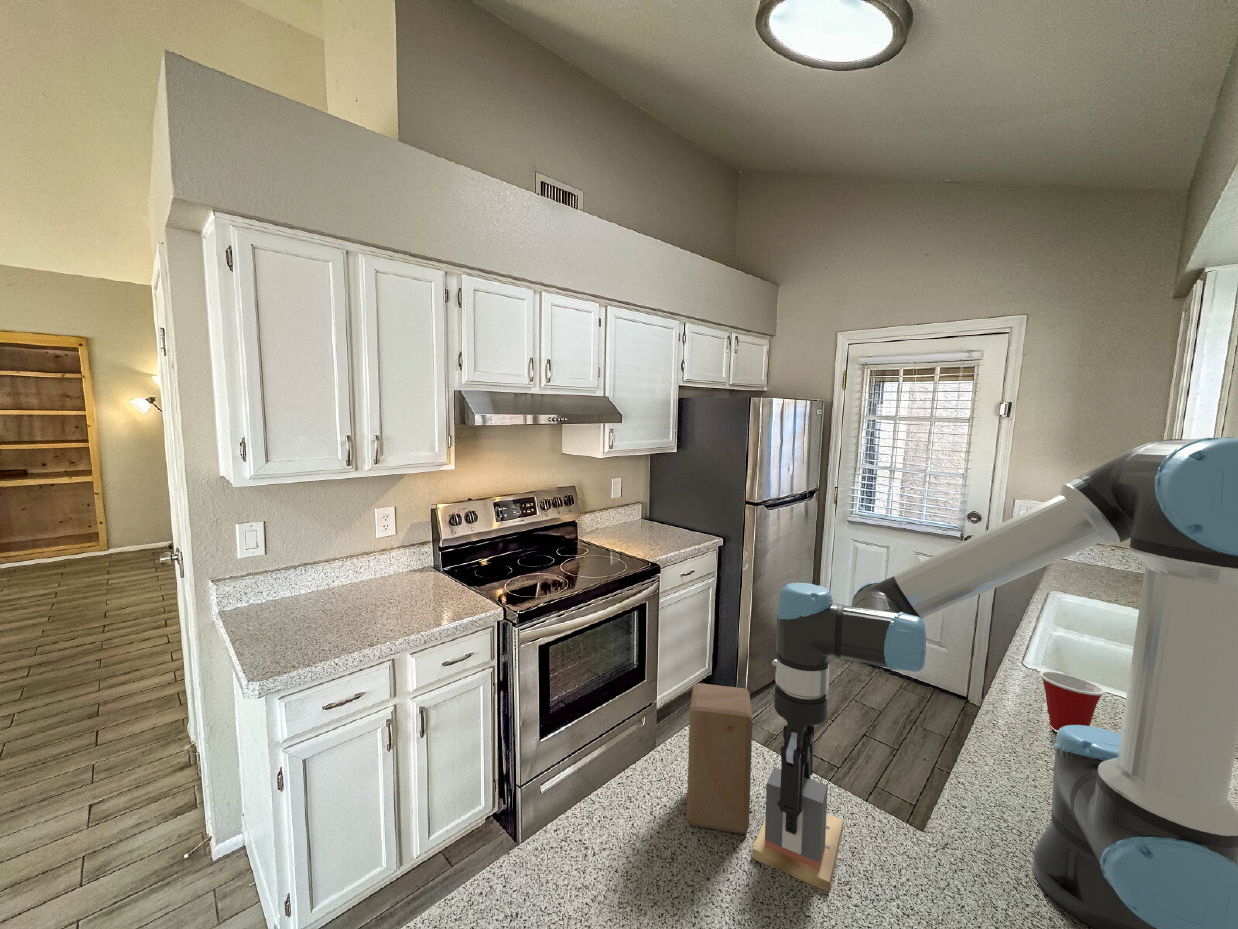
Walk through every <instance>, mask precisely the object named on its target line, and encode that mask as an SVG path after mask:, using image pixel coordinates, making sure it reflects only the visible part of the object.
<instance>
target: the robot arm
mask: <svg viewBox="0 0 1238 929" xmlns="http://www.w3.org/2000/svg"><path fill="white" fill-rule="evenodd" d="M1129 539H1130V541H1129V550H1130V552H1132V553H1133V555H1135V556H1136V557H1137V558H1138V559H1139V560H1140V562H1142V563H1143V566H1144V574H1143V581H1142V587H1141V595H1140V600H1139V606H1138V607H1139V608H1138V614H1137V615H1138V616H1137V622H1136V623H1137V624H1136V629H1135V636H1134V642H1133V650H1132V657H1131V662H1130V671H1129V678H1128V683H1127V690H1126V691H1127V692H1126V699H1125V706H1124V712H1123V719H1122V726H1121V732H1117V731H1113V730H1109V729H1106V728H1105V729H1104V728H1102V727H1095V726H1091V725H1089V726H1083V725H1067V726H1064V727H1061V728H1060V729H1059V730H1058V732H1057V733H1056V740H1055V743H1054V744H1053V748H1054V764H1053V779H1052V780H1053V782H1052V795H1051V796H1052V800H1051V817H1050V818H1051V819H1050V821H1049V824H1047V825H1048V826H1046V829H1045V830H1044V831H1043V833H1042V835H1041V837H1040V839H1039V840H1038V842H1037V843H1036V845H1035V847H1034V850H1033V857H1032V871H1033V875H1034V876H1035V879H1036V881H1037V882H1038V885H1039V886H1040V887H1041V888H1042V889H1043V891H1045V893H1046V894H1047V895H1048V896H1049V897H1050V898H1051V899H1052V900H1053V901H1054V902H1055V903H1056V904H1058V905H1059V906H1060V907H1061V908H1062V909H1064V910H1065V911H1067V913H1069V914H1071V915H1072V916H1073V917H1074V918H1076V919H1077V920H1079V921H1081V922H1082V923H1084V924H1086V925H1087V926H1089V927H1091V928H1093V929H1238V809H1237V808H1236V806H1234V805H1233V804H1232V803H1231V802H1230V801H1229V800H1228V798H1229V794H1230V793H1229V792H1230V786H1231V781H1232V780H1231V779H1232V774H1233V769H1234V761H1235V755H1236V750H1237V745H1238V744H1237V743H1238V437H1237V438H1236V437H1231V436H1227V437H1205V438H1188V439H1187V438H1174V439H1173V438H1172V439H1161V440H1159V439H1158V440H1156V441H1155V440H1154V441H1150V442H1147V443H1144V444H1142V445H1141V444H1140V445H1138V446H1137V447H1134V448H1131V449H1129V450H1127V451H1125V452H1122V453H1121V454H1119V455H1117V456H1115V457H1114V458H1111V459H1109V460H1107V461H1106V462H1104V463H1102V464H1100V465H1099V466H1096V467H1095V468H1093V469H1091V470H1089V471H1087V472H1085V473H1083V474H1082V475H1080V476H1078V477H1076V478H1074V479H1072V480H1070V481H1068V482H1065V483H1064V484H1062V486H1061V490H1060V493H1059V495H1057V496H1055V497H1052V498H1050V499H1049V500H1046V501H1045V502H1042V503H1041V504H1038V505H1036V506H1034V507H1032V508H1030V509H1028V510H1026V511H1023V512H1022V513H1019V514H1018V515H1016V516H1013V517H1012V518H1009V519H1007V520H1005V521H1003V522H1001V523H999V524H997V525H995V526H993V527H991V528H988V529H987V530H985V531H983V532H981V533H978V534H977V535H975V536H973V537H971V538H969V539H967V540H964V541H962V542H960V543H958V544H956V545H954V546H952V547H950V548H948V549H946V550H944V551H942V552H940V553H938V554H935V555H933V556H931V557H929V558H928V559H925V560H923V561H922V562H919V563H917V564H914V565H913V566H911V567H909V568H907V569H905V570H903V571H901V572H898V573H897V574H894V575H893V576H891V577H888V578H886V579H884V580H881V581H871V582H866V583H864V584H863V585H862V586H860V587H859V588H858V590H857V591H856V592H855V594H854V596H853V598H852V601H851V602H852V603H851V606H850V605H844V604H840V603H835V602H834V600H833V599H832V598H833V596H832V592H831V591H830V590H829V589H828V588H827V587H825V586H823V585H816V584H815V583H808V582H791V583H786V584H785V585H783V586H782V587H781V588H780V589H779V591H778V592H779V593H778V605H777V612H776V651H775V656H776V658H775V659H773V660H772V662H771V665H772V667H776V668H775V685H774V701H773V702H774V703H773V704H774V705H773V708H774V709H775V712H776V713H777V714H778V715H779V716H780V717H781V718H783V719H784V720H785V721H786V722H787V724H786V725H784V726H783V732H782V738H783V740H784V741H783V745H781V747H780V758H781V759H780V761H781V763H780V764H781V765H780V767H781V768H780V769H781V791H780V800H779V801H778V802H777V805H778V806H779V807H780V811H782V812H783V826H782V847H783V848H786V849H788V850H790V851H793V852H795V853H798V854H800V855H801V852H802V828H803V808H802V807H801V806H802V793H803V779H804V777H805V778H808V779H810V780H813V781H816V780H815V779H812V777H811V776H812V775H813V774H814V765H813V764H814V750H815V749H814V748H815V747H814V744H815V734H816V726H817V725H820V724H823V723H824V722H825V721H826V719H827V717H828V700H829V698H828V697H829V696H828V694H827V693H828V692H829V682H830V681H829V679H830V657H832V658H833V657H834V658H837V659H838V658H839V659H843V660H848V661H853V662H858V663H863V664H868V665H871V666H872V665H873V666H877V667H882V668H888V669H889V670H891V671H892V670H893V671H897V670H898V671H905V672H914V673H917V672H920V671H922V670H923V669H924V667H925V665H926V663H925V662H926V652H927V630H926V624H925V621H924V619H927V618H930V617H931V616H934V615H937V614H939V613H940V612H943V611H945V610H947V609H950V608H952V607H955V606H957V605H959V604H962V603H965V602H966V601H969V600H971V599H973V598H975V597H977V596H980V595H982V594H984V593H987V592H988V591H991V590H994V589H996V588H998V587H1001V586H1003V585H1005V584H1007V583H1009V582H1012V581H1015V580H1017V579H1019V578H1022V577H1023V576H1025V575H1029V574H1030V573H1032V572H1034V571H1037V570H1040V569H1041V568H1044V567H1046V566H1049V565H1051V564H1054V563H1055V562H1059V561H1060V560H1062V559H1064V558H1066V557H1067V558H1068V557H1069V556H1071V555H1075V554H1076V553H1079V552H1081V551H1083V550H1085V549H1087V548H1089V547H1092V546H1094V545H1097V544H1099V543H1106V544H1107V543H1109V544H1112V545H1113V544H1114V545H1118V544H1120V543H1123V542H1125V541H1126V540H1127V541H1128V540H1129ZM816 782H817V781H816Z"/></svg>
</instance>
